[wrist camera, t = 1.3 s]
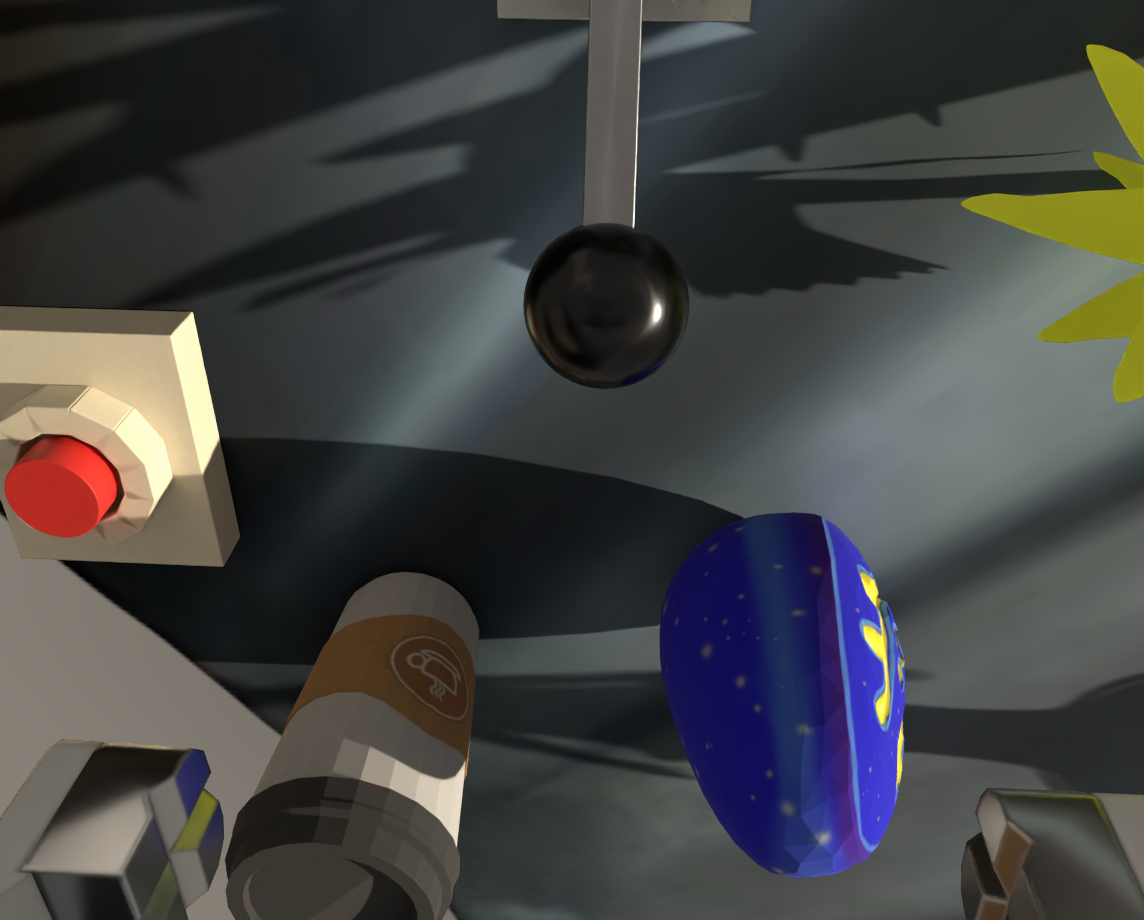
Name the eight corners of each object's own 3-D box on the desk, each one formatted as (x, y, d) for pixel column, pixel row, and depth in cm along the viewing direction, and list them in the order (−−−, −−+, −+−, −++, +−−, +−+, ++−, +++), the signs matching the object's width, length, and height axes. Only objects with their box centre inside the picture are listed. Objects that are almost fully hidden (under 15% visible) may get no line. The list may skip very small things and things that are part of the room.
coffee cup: (538, 622, 47) (499, 916, 34) (427, 709, 51) (355, 1005, 38) (397, 518, 44) (300, 796, 32) (291, 618, 48) (164, 904, 35)
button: (15, 433, 39) (-9, 458, 37) (107, 437, 39) (86, 461, 37) (42, 510, 41) (19, 536, 39) (128, 513, 41) (109, 540, 39)
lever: (680, 386, 24) (690, 396, 20) (529, 381, 24) (512, 391, 21) (707, -214, 22) (723, -318, 19) (544, -215, 22) (529, -318, 19)
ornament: (891, 637, 46) (984, 944, 34) (696, 675, 48) (715, 979, 36) (846, 439, 41) (936, 717, 28) (629, 492, 43) (623, 774, 30)
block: (-30, 304, 40) (-92, 349, 37) (193, 311, 40) (151, 357, 36) (46, 528, 46) (-1, 585, 43) (240, 536, 45) (208, 594, 42)
